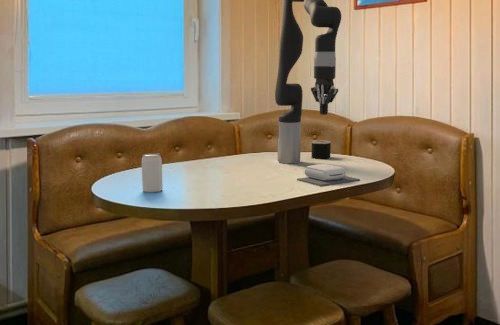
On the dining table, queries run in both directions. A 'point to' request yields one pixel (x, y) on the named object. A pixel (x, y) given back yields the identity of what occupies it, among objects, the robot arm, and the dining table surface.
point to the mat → (324, 183)
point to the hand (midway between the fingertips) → (323, 114)
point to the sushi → (321, 149)
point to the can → (152, 172)
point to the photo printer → (325, 172)
